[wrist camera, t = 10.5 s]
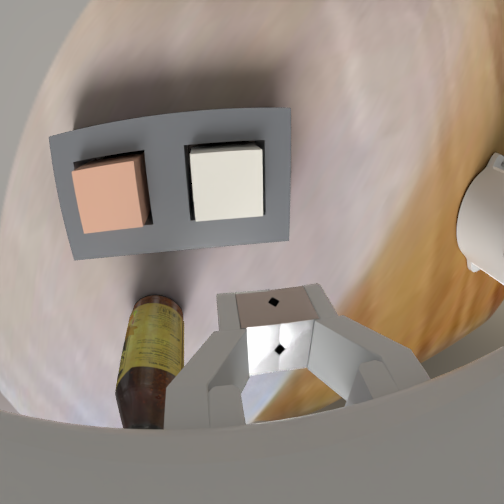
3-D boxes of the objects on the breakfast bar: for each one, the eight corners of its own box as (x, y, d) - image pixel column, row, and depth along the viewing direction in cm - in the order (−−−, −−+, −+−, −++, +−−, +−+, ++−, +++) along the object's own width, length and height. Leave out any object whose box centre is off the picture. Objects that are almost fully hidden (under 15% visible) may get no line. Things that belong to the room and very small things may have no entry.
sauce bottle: (124, 296, 31) (84, 460, 14) (177, 287, 32) (167, 462, 14) (143, 338, 35) (126, 490, 17) (191, 331, 35) (197, 490, 18)
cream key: (253, 143, 24) (262, 149, 20) (254, 200, 26) (263, 216, 23) (192, 147, 23) (189, 154, 20) (196, 204, 25) (195, 221, 22)
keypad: (275, 107, 25) (290, 107, 21) (276, 219, 30) (289, 240, 26) (72, 130, 23) (48, 136, 18) (91, 236, 28) (74, 260, 23)
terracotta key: (144, 152, 23) (133, 160, 19) (151, 209, 25) (143, 227, 21) (89, 161, 22) (71, 171, 18) (99, 215, 24) (84, 233, 21)
